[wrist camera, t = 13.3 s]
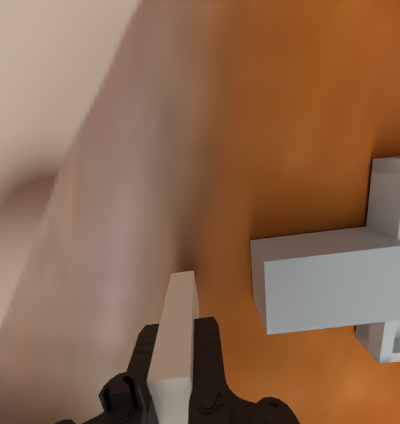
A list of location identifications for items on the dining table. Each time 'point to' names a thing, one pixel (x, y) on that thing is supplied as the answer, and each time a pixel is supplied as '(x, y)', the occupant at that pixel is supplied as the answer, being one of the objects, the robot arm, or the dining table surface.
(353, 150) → the dining table surface
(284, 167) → the dining table surface
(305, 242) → the tray
